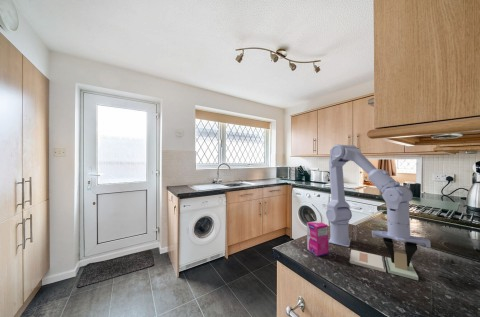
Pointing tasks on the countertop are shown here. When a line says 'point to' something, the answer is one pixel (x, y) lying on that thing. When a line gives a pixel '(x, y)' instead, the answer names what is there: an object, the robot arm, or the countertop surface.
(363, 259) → the board
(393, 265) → the block on white base
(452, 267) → the countertop surface
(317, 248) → the supplement box
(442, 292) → the countertop surface
